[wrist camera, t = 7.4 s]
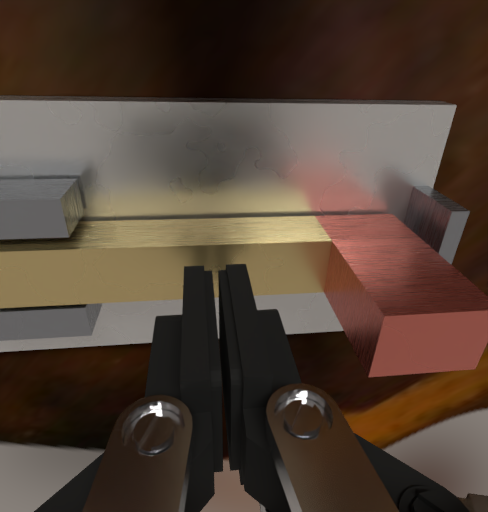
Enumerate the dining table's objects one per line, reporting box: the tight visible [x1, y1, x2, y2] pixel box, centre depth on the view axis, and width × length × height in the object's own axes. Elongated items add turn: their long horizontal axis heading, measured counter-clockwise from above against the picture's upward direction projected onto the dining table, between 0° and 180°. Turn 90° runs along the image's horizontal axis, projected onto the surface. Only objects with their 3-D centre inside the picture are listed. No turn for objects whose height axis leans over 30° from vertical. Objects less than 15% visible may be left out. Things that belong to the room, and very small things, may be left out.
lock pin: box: [0, 214, 488, 377], centre depth 11 cm, size 14×2×6 cm, turn 89°
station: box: [0, 96, 470, 352], centre depth 12 cm, size 28×10×4 cm, turn 89°
